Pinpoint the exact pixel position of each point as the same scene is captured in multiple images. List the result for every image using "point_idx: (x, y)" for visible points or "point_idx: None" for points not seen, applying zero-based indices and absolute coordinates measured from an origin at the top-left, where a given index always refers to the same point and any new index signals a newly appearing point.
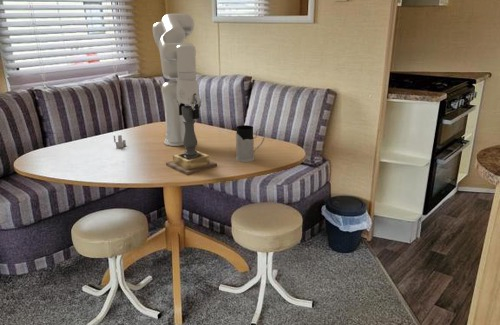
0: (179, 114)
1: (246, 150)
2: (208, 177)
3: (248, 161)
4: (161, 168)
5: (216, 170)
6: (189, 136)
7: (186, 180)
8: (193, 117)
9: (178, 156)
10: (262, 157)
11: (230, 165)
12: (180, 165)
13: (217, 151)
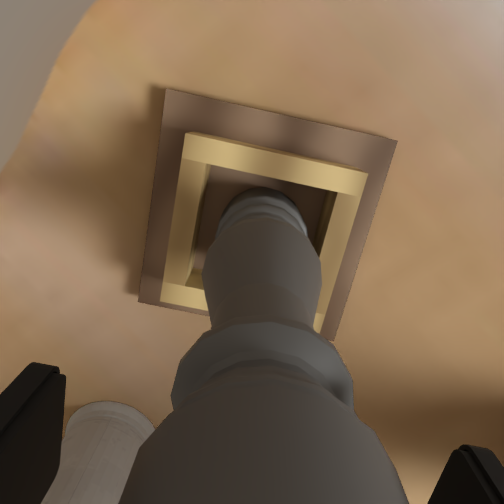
0: (483, 452)
1: None
2: (47, 137)
3: (69, 420)
4: (379, 78)
5: (96, 244)
6: (226, 267)
7: (103, 17)
8: (17, 390)
9: (315, 176)
10: None
11: (97, 338)
12: (276, 149)
13: None
